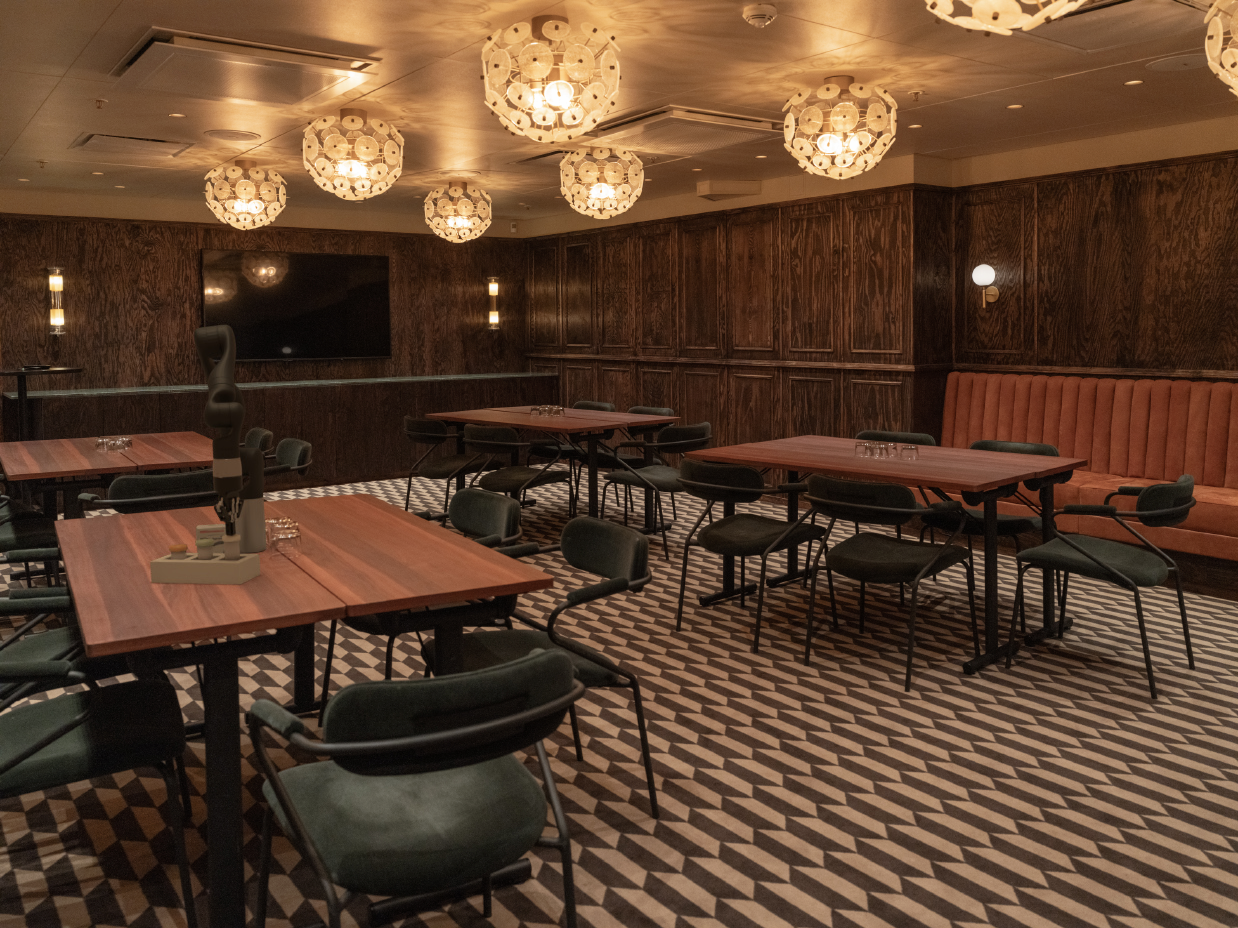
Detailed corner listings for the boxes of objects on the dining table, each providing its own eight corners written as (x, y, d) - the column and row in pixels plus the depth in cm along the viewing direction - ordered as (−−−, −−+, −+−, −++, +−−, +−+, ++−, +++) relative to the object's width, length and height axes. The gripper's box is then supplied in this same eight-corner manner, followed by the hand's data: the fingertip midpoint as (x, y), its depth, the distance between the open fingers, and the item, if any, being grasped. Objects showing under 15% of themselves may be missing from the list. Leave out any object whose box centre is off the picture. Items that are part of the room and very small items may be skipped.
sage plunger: (202, 566, 281) (201, 538, 280) (218, 567, 280) (217, 538, 279) (193, 570, 276) (191, 542, 275) (209, 571, 276) (208, 542, 275)
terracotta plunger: (176, 571, 282) (174, 543, 281) (192, 572, 281) (190, 544, 280) (167, 575, 277) (165, 547, 276) (183, 576, 277) (181, 547, 276)
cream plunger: (228, 562, 280) (227, 534, 279) (244, 562, 279) (243, 534, 278) (220, 566, 275) (218, 537, 274) (236, 566, 275) (235, 537, 274)
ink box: (197, 567, 293) (195, 528, 292) (197, 563, 298) (195, 525, 296) (228, 564, 297) (226, 525, 295) (227, 561, 301) (225, 523, 300)
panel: (175, 572, 286) (174, 552, 285) (260, 574, 283) (259, 554, 282) (151, 582, 274) (150, 561, 273) (239, 584, 271) (238, 563, 270)
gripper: (226, 471, 281) (230, 530, 283) (202, 477, 268) (205, 539, 270) (251, 471, 280) (254, 531, 282) (228, 477, 267) (231, 539, 269)
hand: (230, 535), depth 276 cm, fingers closed
